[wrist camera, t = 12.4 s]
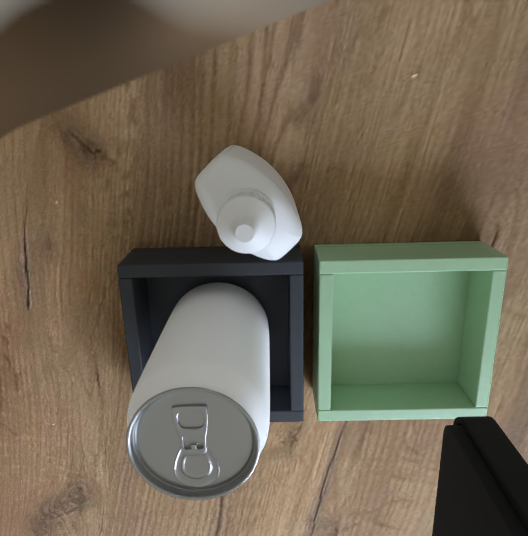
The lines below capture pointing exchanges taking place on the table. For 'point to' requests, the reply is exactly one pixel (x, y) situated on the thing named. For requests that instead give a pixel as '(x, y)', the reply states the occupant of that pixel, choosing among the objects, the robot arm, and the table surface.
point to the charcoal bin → (224, 271)
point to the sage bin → (405, 329)
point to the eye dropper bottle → (249, 204)
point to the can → (203, 396)
